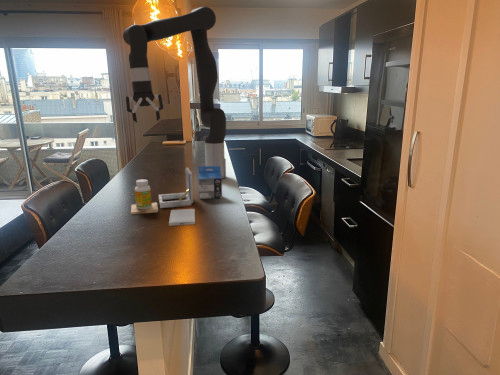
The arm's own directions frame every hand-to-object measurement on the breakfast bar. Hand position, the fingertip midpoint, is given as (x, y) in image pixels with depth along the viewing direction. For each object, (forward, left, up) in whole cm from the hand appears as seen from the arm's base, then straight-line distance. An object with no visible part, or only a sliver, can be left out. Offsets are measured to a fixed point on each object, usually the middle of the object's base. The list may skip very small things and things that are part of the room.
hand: (147, 121), depth 144 cm
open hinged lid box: (-7, +23, -29) cm, 37 cm away
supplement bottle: (+4, +28, -28) cm, 40 cm away
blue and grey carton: (-22, +20, -29) cm, 42 cm away
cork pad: (+4, +28, -29) cm, 40 cm away
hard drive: (-8, +41, -30) cm, 51 cm away
